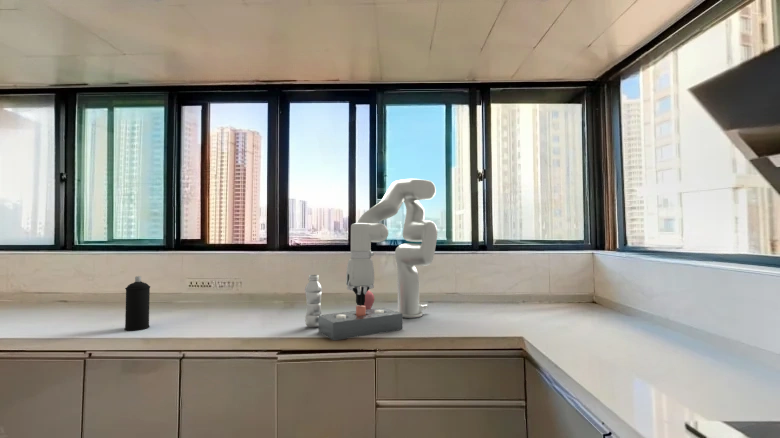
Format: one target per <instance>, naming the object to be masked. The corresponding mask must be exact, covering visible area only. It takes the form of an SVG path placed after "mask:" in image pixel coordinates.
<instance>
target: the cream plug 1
mask: <svg viewBox="0 0 780 438" xmlns="http://www.w3.org/2000/svg"><path fill="white" fill-rule="evenodd" d="M336 318H337V319H340V318H346V315H344V314H340V315H336Z"/></svg>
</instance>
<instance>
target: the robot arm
mask: <svg viewBox="0 0 780 438" xmlns="http://www.w3.org/2000/svg"><path fill="white" fill-rule="evenodd" d="M436 192H437V189H436V185H435V183H434V182H433V181H431V180H428V179H422V178H421V179H420V178H405V179H399V180H398V179H397V180H395V181H393V182H392V183H391V184H390V186H389V187H388V188H387V190H386V192H385V194H384V195H383V197H382V198H381V200H380V201H379V202H378V203H376V204H375V205H373V206H372V207H370V208H369V209H368V210H366V211H365V212H364V213H363V214H361V216H360V217H359V219H358V220H357V222H355V223H352V224H351V225H350V259H348V261H347V266H346V274H345V284H346V286H347V287H346V289H347V290H349V291H352V292H354V294H355V303H356V306H362V305H364V303H365V294H366V293H367V291H370V290H372V289H374V287H375V285H374V284H375V269H374V263H373V262H374V261H373V259H372V257H373V256H374V252H373V251H372V249H371V248H372V247H371V246H372V245H371V244H372V243H383V242H384V241H386V240H387V238H388V237H389V229H388V226H387V225H385V224H383V223H380V222H382V221H385V220H387V219H390V218H393V217H394V216H395V215H397V214H398V212H399V210H400V208H401V207H402V205H403V203H404V206H405V211H406V212H405V213H406V214H405V217H404V218H405V219H404V223H403V227H402V228H403V229H402V237H403V239H404V240H405V241H407V242H414V243H402V244H399V245H398V246H397V247H396V248H395V251H394V257H395V258H394V259H395V262H396V268H397V269H396V270H397V271H396V272H397V310H396V312H399V313H402V319H403V318H404V319H405V318H406V319H407V318H408V319H411V318H415V319H416V318H420V317H422V316H423V311H424V310H428V309H429V305H428V304H420V275H419V272H418V269H417V267H416V266H420V267H423V266H424V267H427V266H430V265H431V264H432V263H433V261H434V259H435V258H434V257H435V252H436V247H437V246H436V245H437V240H438V227H437V225H436V223H435V222H434V221H432V220H425V208H424V207H423V205H422V204H421V202H420V201H425V200H426V201H427V200H432V199H433V198H434V197H435V196H436ZM415 242H416V243H415ZM420 242H421V243H420Z"/></svg>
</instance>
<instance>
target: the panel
mask: <svg viewBox="0 0 780 438" xmlns="http://www.w3.org/2000/svg"><path fill="white" fill-rule="evenodd" d="M375 310H384V313H380V314H376V313H375ZM396 311H397V310H396ZM396 311H395V310H393V309H389V308H387V307H378V308H371V309H367V310H366V315H364V316H356V310H352V311H344V312H335V313H328V314H322V315H319V326H318V333H321V335H323V336H325V337H327V338H328V339H330V340H331V341H338V340H344V339H345V340H346V339H351V338H357V337H358V338H359V337H364V336H370V335H377V334H382V333H383V334H384V333H389V332H390V333H391V332H395V331H401V330H404V328H403V318H402V313H399V312H396ZM340 314H344V315H346V318H340V319H337V318H336V315H340Z"/></svg>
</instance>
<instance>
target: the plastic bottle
mask: <svg viewBox="0 0 780 438" xmlns="http://www.w3.org/2000/svg"><path fill="white" fill-rule="evenodd" d="M319 276H320V275H319V274H310V275H308V283H307V284H306V286H305V289H304V291H305V298H306V310H305V313H306V314H305V316H304V317H305V319H304V323H305V326H307V327H309V328H316V327H318V328H319V315H323V314H322V305H321V302H322V294H323V293H322V292H323V288H322V287H323V286H322V285H321V283H320V282H319V280H320V278H319Z"/></svg>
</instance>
